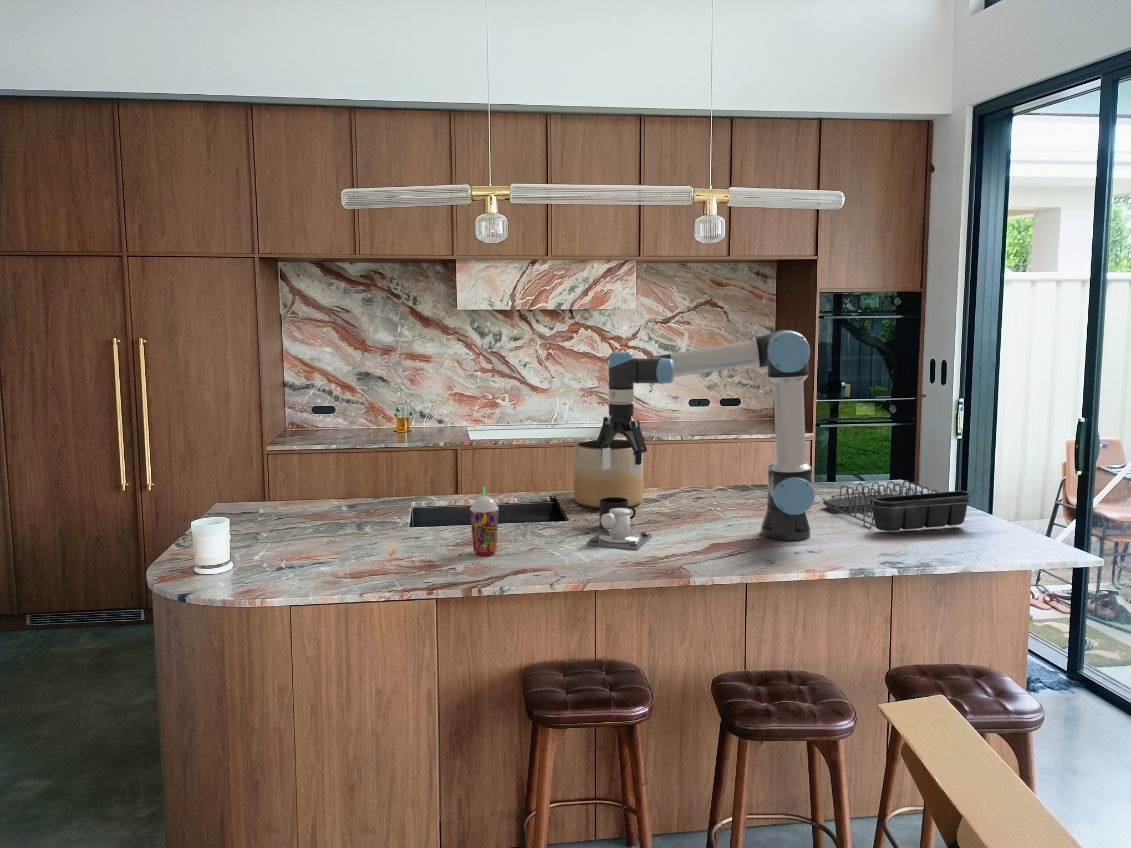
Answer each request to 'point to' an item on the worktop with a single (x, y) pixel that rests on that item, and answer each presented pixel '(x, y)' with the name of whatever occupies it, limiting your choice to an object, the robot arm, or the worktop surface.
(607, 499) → the mug
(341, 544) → the worktop surface
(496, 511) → the smoothie
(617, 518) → the elbow
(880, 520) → the dish rack
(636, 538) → the duct flange
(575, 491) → the planter
